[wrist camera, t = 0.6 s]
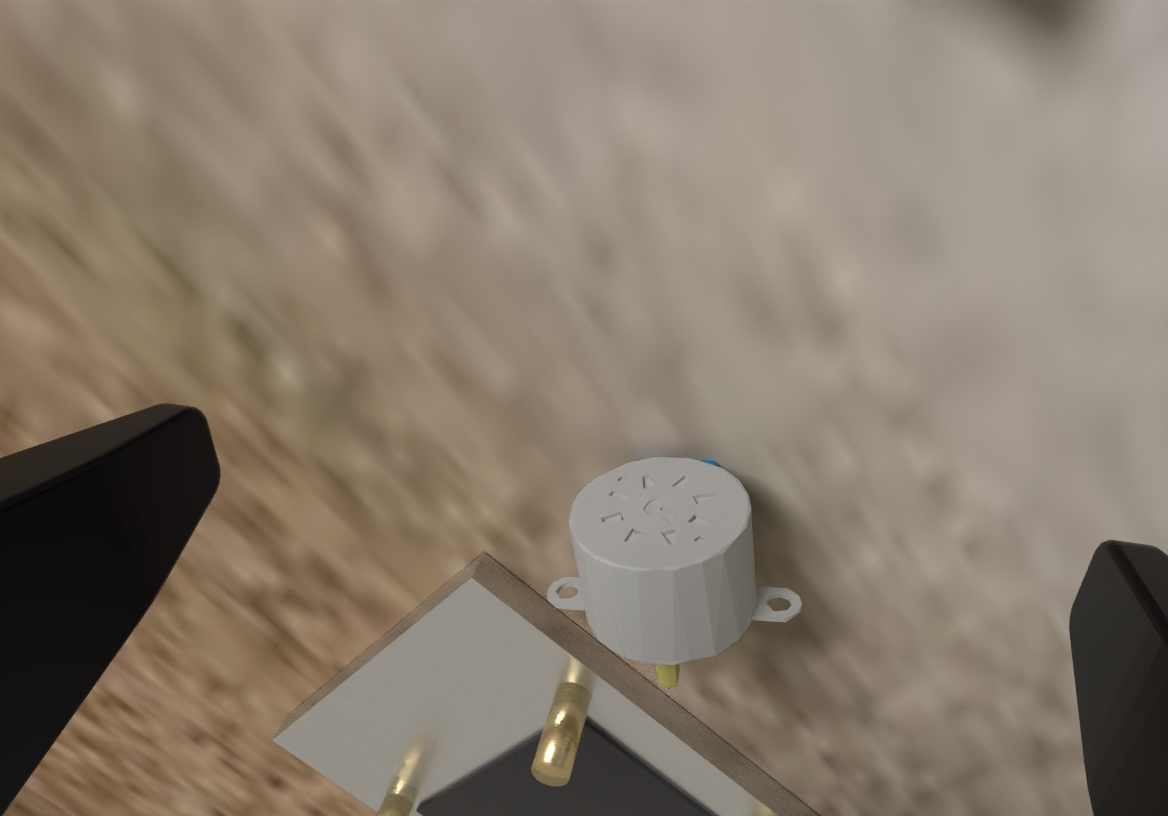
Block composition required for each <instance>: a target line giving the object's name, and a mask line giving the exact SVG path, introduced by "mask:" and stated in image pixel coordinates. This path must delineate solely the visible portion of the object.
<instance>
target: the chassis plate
mask: <svg viewBox="0 0 1168 816" xmlns="http://www.w3.org/2000/svg"><path fill="white" fill-rule="evenodd" d="M273 741H274V742H276V743H277V744H279V745H280V746H281V747H283V748H284V749H286V750H287V751H289V752H290V753H292V754H293V755H295V756H296V757H298V758H299V759H300V760H302V761H303V762H305V763H306V764H308V765H309V766H311V767H312V768H314V769H315V770H317V771H318V772H319V773H321V774H322V775H324V776H325V777H327V778H328V779H330V780H331V781H333V782H334V783H336V784H337V785H338V786H340V787H341V788H343V789H344V790H346V791H347V792H349V793H350V794H352V795H353V796H355V797H356V798H357V799H359V800H360V801H362V802H363V803H365V804H366V805H368V806H369V807H371V808H372V809H374V810H375V811H376V812H377V814H376V816H819V815H817V814H816V813H815V812H814V811H812V810H811V809H810V808H809V807H807V806H806V805H805V804H804V803H802V802H801V801H800V800H798V799H797V798H796V797H795V796H793V795H792V794H791V793H790V792H788V791H787V790H786V789H784V788H783V787H782V786H781V785H779V784H778V783H777V782H776V781H774V780H773V779H772V778H770V777H769V776H768V775H767V774H765V773H764V772H763V771H762V770H760V769H759V768H758V767H757V766H755V765H754V764H753V763H751V762H750V761H749V760H748V759H746V758H745V757H744V756H743V755H741V754H740V753H739V752H737V751H736V750H735V749H734V748H732V747H731V746H730V745H729V744H727V743H726V742H725V741H723V740H722V739H721V738H720V737H718V736H717V735H716V734H715V733H713V732H712V731H711V730H710V729H708V728H707V727H706V726H704V725H703V724H702V723H701V722H699V721H698V720H697V719H696V718H694V717H693V716H692V715H690V714H689V713H688V712H687V711H685V710H684V709H683V708H682V707H680V706H679V705H678V704H676V703H675V702H674V701H673V700H671V699H670V698H669V697H668V696H666V695H665V694H664V693H663V692H661V691H660V690H659V689H657V688H656V687H655V686H654V685H652V684H651V683H650V682H649V681H647V680H646V679H645V678H643V677H642V676H641V675H640V674H638V673H637V672H636V671H635V670H633V669H632V668H631V667H629V666H628V665H627V664H626V663H624V662H623V661H622V660H621V659H619V658H618V657H617V656H616V655H614V654H613V653H612V652H610V651H609V650H608V649H607V648H605V647H604V646H603V645H602V644H600V643H599V642H598V641H596V640H595V639H594V638H593V637H591V636H590V635H589V634H588V633H586V632H585V631H584V630H582V629H581V628H580V627H579V626H577V625H576V624H575V623H574V622H572V621H571V620H570V619H569V618H567V617H566V616H565V615H563V614H562V613H561V612H560V611H558V610H557V609H556V608H555V607H553V606H552V605H551V604H549V603H548V602H547V601H546V600H544V599H543V598H542V597H541V596H539V595H538V594H537V593H535V592H534V591H533V590H532V589H530V588H529V587H528V586H527V585H525V584H524V583H523V582H522V581H520V580H519V579H518V578H516V577H515V576H514V575H513V574H511V573H510V572H509V571H508V570H506V569H505V568H504V567H502V566H501V565H500V564H499V563H497V562H496V561H495V560H494V559H492V558H491V557H490V556H488V555H487V554H486V553H485V552H483V553H482V554H481V555H480V556H478V557H477V558H476V559H475V560H474V561H472V562H471V563H470V564H469V565H468V566H466V567H465V568H464V569H463V570H462V571H460V572H459V573H458V574H457V575H456V576H454V577H453V578H452V579H451V580H450V581H448V582H447V583H446V584H445V585H444V586H442V587H441V588H440V589H439V590H438V591H436V592H435V593H434V594H433V595H432V596H430V597H429V598H428V599H427V600H426V601H424V602H423V603H422V604H421V605H420V606H418V607H417V608H416V609H415V610H414V611H412V612H411V613H410V614H409V615H408V616H406V617H405V618H404V619H403V620H402V621H400V622H399V623H398V624H397V625H396V626H394V627H393V628H392V629H391V630H390V631H388V632H387V633H386V634H385V635H384V636H382V637H381V638H380V639H379V640H378V641H376V642H375V643H374V644H373V645H372V646H370V647H369V648H368V649H367V650H366V651H364V652H363V653H362V654H361V655H360V656H358V657H357V658H356V659H355V660H353V661H352V662H351V663H350V664H349V665H347V666H346V667H345V668H344V669H343V670H341V671H340V672H339V673H338V674H337V675H335V676H334V677H333V678H332V679H331V680H329V681H328V682H327V683H326V684H325V685H323V686H322V687H321V688H320V689H319V690H317V691H316V692H315V693H314V694H313V695H311V696H310V697H309V698H308V699H307V700H305V701H304V702H303V703H302V704H301V705H299V706H298V707H297V708H296V709H295V710H293V711H292V712H291V713H290V714H289V715H288V716H287V717H286V719H285V720H284V722H283V724H282V725H281V727H280V728H279V730H278V732H277V733H276V735H275V737H274V738H273Z"/></svg>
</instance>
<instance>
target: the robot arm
mask: <svg viewBox="0 0 1168 816" xmlns="http://www.w3.org/2000/svg"><path fill="white" fill-rule="evenodd" d="M219 483H220V465H219V462H218V458H217V454H216V451H215V447H214V444H213V440H212V436H211V433H210V429H209V426H208V422H207V419H206V417H205V415H204V414H203V413H202V412H201V410H199V409H197V408H195V407H190V406H183V405H176V404H169V403H164V404H158V405H155V406H152V407H149V408H146V409H143V410H140V411H137V412H134V413H132V414H129V415H126V416H123V417H120V418H117V419H114V420H111V421H108V422H105V423H102V424H99V425H96V426H93V427H90V428H87V429H84V430H81V431H79V432H76V433H73V434H70V435H67V436H64V437H61V438H58V439H55V440H52V441H49V442H46V443H43V444H40V445H37V446H34V447H31V448H28V449H25V450H23V451H20V452H17V453H14V454H11V455H8V456H5V457H2V458H0V816H2V815H3V814H4V813H5V811H6V810H7V808H8V807H9V805H10V804H11V803H12V801H13V800H14V798H15V797H16V796H17V794H18V793H19V791H20V790H21V789H22V787H23V786H24V784H25V783H26V782H27V780H28V779H29V777H30V776H31V774H32V773H33V772H34V770H35V769H36V767H37V766H38V765H39V763H40V762H41V760H42V759H43V758H44V756H45V755H46V753H47V752H48V750H49V749H50V748H51V746H52V745H53V743H54V742H55V741H56V739H57V738H58V736H59V735H60V734H61V732H62V731H63V729H64V728H65V727H66V725H67V724H68V722H69V721H70V719H71V718H72V717H73V715H74V714H75V712H76V711H77V710H78V708H79V707H80V705H81V704H82V703H83V701H84V700H85V698H86V697H87V695H88V694H89V693H90V691H91V690H92V688H93V687H94V686H95V684H96V683H97V681H98V680H99V679H100V677H101V676H102V674H103V673H104V672H105V670H106V669H107V667H108V666H109V664H110V663H111V662H112V660H113V659H114V657H115V656H116V655H117V653H118V652H119V650H120V649H121V648H122V646H123V645H124V643H125V642H126V640H127V639H128V638H129V636H130V635H131V633H132V632H133V631H134V629H135V628H136V626H137V625H138V624H139V622H140V621H141V619H142V618H143V616H144V615H145V613H146V612H147V610H148V609H149V607H150V606H151V604H152V603H153V601H154V599H155V598H156V596H157V595H158V593H159V591H160V590H161V588H162V586H163V585H164V583H165V581H166V579H167V578H168V576H169V574H170V572H171V571H172V569H173V567H174V565H175V564H176V562H177V560H178V558H179V556H180V555H181V553H182V551H183V549H184V548H185V546H186V544H187V542H188V541H189V539H190V537H191V535H192V534H193V532H194V530H195V528H196V527H197V525H198V523H199V521H200V520H201V518H202V516H203V514H204V513H205V511H206V509H207V507H208V505H209V504H210V502H211V500H212V498H213V497H214V495H215V493H216V491H217V489H218V486H219ZM1069 631H1070V641H1071V650H1072V659H1073V668H1074V676H1075V685H1076V694H1077V703H1078V712H1079V720H1080V729H1081V738H1082V747H1083V756H1084V764H1085V771H1086V778H1087V785H1088V791H1089V796H1090V800H1091V805H1092V810H1093V815H1094V816H1168V555H1166V554H1165V553H1164V552H1163V551H1161V550H1160V549H1158V548H1156V547H1154V546H1151V545H1144V544H1137V543H1130V542H1123V541H1116V540H1108V541H1105V542H1103V543H1101V544H1100V545H1099V547H1098V548H1097V549H1096V551H1095V553H1094V555H1093V557H1092V560H1091V562H1090V565H1089V567H1088V569H1087V572H1086V574H1085V577H1084V579H1083V581H1082V584H1081V586H1080V589H1079V591H1078V593H1077V596H1076V598H1075V601H1074V603H1073V606H1072V609H1071V614H1070V623H1069Z"/></svg>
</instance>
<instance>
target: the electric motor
mask: <svg viewBox="0 0 1168 816" xmlns="http://www.w3.org/2000/svg"><path fill="white" fill-rule="evenodd" d="M568 523H569V528H570V533H571V538H572V544H573V549H574V554H575V559H576V564H577V570H578V575H579V577H565V578H562V579H560V580H557V581H555V582H553V584H552V585H551V586H550V587H549V589H548V593H547V598H548V601H549V602H550V603H551V604H552V605H553V606H554V607H556V608H559V609H571V610H585V611H586V615H587V620H588V624H589V626H590V627H591V629H592V631H593V632H594V634H595V636H596V637H597V639H598V641H600V642H601V643H603V644H604V645H606V646H607V647H608V648H610V649H611V650H613V651H614V652H616V653H617V654H619V655H620V656H622V657H623V658H624V659H625V656H626V658H628V659H631V660H635V661H639V662H643V663H647V664H656V669H657V676H658V682H659V685H660V686H662V687H664V688H673V687H677V682H678V676H679V670H680V667H679V664H681V663H686V662H690V661H695V660H700V659H704V658H709V657H713V656H716V655H717V654H719V653H720V652H722V651H723V650H725V649H726V648H728V647H729V646H730V645H732V644H733V643H735V642H736V641H738V640H739V639H740V638H741V636H742V635H743V634H744V632H745V631H746V630H747V628H748V627H749V626H750V624H751V622H752V621H753V620H756V621H773V622H787V621H789V620H790V619H792V618H793V617H795V616H796V615H798V614H799V613H801V612H802V603H801V600H800V597H799V595H797V594H796V593H794V592H793V591H791V590H790V589H788V588H779V587H768V586H757V585H756V581H755V564H754V547H753V530H752V512H751V504H750V496H749V494H748V492H747V491H746V489H745V488H744V486H743V485H742V484H741V482H740V481H739V480H738V479H737V478H736V477H734V476H733V475H732V474H731V473H729V472H728V471H726V470H725V469H723V468H720V467H718V464H717V463H715V462H714V461H698V460H695V459H691V458H672V457H653V458H648V459H643V460H636V461H633V462H628V463H626V464H623V465H621V466H619V467H617V468H615V469H613V470H611V471H609V472H607V473H604V474H602V475H600V476H598V477H597V478H595V479H594V480H593V481H592V482H590V483H589V484H588V485H586V486H585V487H584V488H583V489H582V490H581V492H580V493H579V494H578V495H577V497H576V499H575V501H574V503H573V504H572V508H571V513H570V518H569V522H568ZM570 586H573V587H575V588H577V589H578V594H577V595H575V596H574V597H573V598H566V599H560V597H559V596H558V592H559V591H560V590H561V588H564V587H570ZM780 597H781V598H783V599H786V600H789V602H790V604H791V606H790V607H789V609H788V610H783V611H775V612H774V611H773V610H772V609H771V608H770V607H769V606H768V605H767V604H768V602H769V600H770V599H774V598H780Z"/></svg>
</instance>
